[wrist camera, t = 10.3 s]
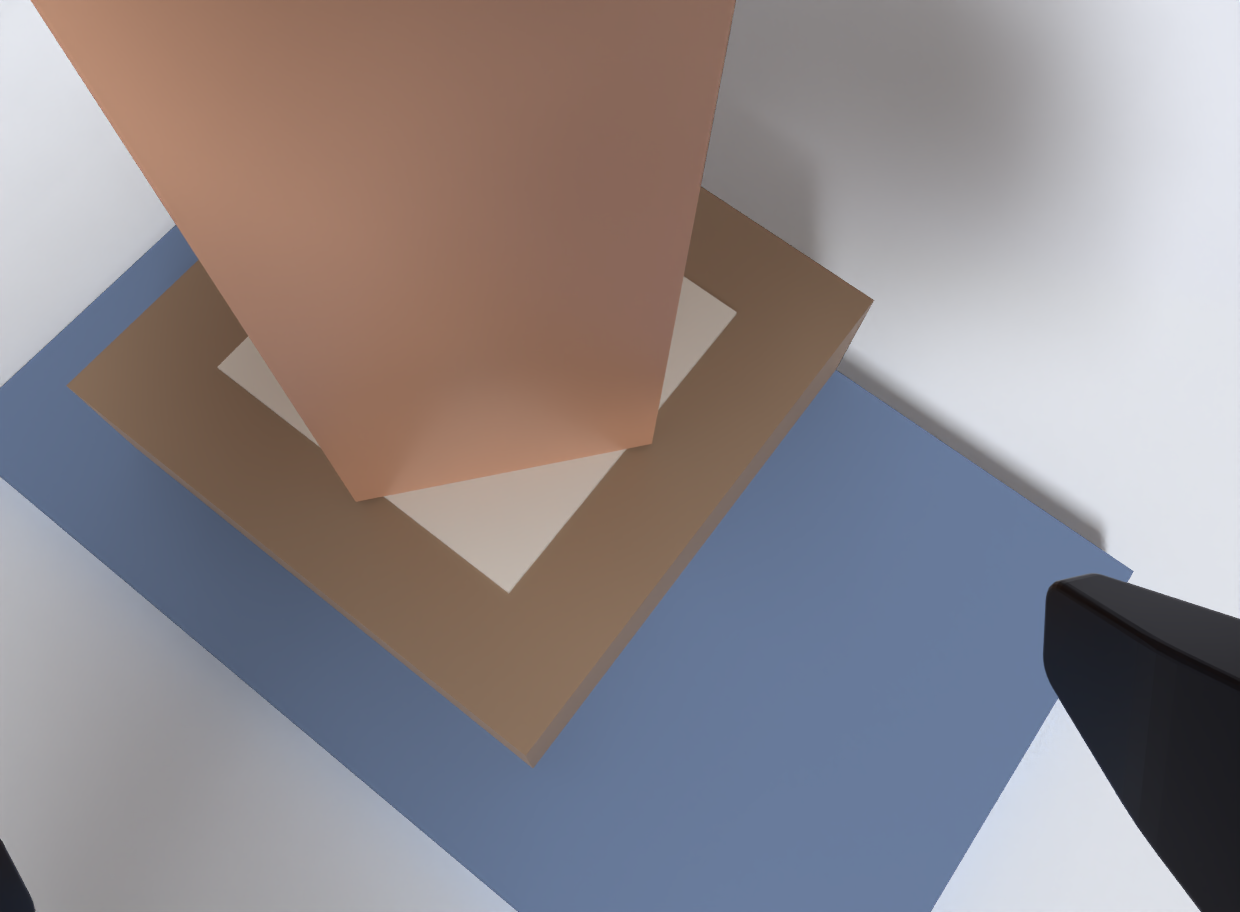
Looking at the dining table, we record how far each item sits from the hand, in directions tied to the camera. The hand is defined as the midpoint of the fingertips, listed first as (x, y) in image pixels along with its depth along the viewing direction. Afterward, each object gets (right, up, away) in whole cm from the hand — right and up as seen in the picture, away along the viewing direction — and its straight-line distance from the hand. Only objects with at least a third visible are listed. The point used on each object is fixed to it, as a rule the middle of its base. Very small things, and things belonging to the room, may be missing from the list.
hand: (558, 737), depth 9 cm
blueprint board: (-1, +1, +13) cm, 13 cm away
